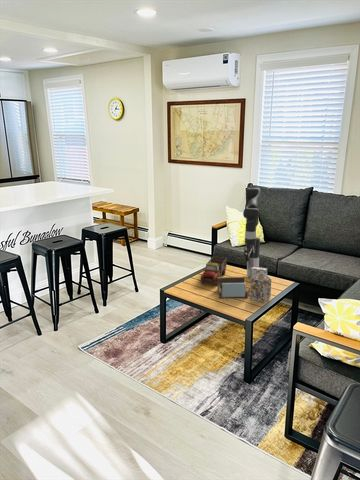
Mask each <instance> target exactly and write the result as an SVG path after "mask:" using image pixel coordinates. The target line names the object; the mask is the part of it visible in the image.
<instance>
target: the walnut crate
mask: <svg viewBox="0 0 360 480" xmlns="http://www.w3.org/2000/svg"><path fill="white" fill-rule="evenodd" d="M245 279H246V277H245V276H220V277H218V280H217V287H216V288H217V294H218V295H217V296H218V299H221V300H222V299H225V300H226V299H229V300H230V299H249V298H248V297H249V293H248V292H249V291H248V289H247V286H246V287H245V297H222V283H246V282H245Z"/></svg>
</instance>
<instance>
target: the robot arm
mask: <svg viewBox="0 0 360 480" xmlns="http://www.w3.org/2000/svg"><path fill="white" fill-rule="evenodd" d="M261 197H262V191H261V189H260V188H259V187H247V188H246V189H245V208H244V210H243V212H242V216H243V217H244V219H246V221H245V232H244V244H245V245H246V246H244V250H243V254H244V255H243V256H245V262H247V263H246V265H247V266H246V278H249V279H251V268H252V267H260V265H259V264H260V247H261V238H260V237H257V226H258V225H259V216H260V210H259V208H258V204H259V203H260V200H261Z"/></svg>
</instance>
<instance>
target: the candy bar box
mask: <svg viewBox="0 0 360 480" xmlns="http://www.w3.org/2000/svg"><path fill="white" fill-rule="evenodd" d="M258 274H264V275H266V276H268V268H265V267H260V266H259V267H252V268H251V278H250V281H251V280H252V278H253V276H255V275H258Z"/></svg>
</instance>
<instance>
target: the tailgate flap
mask: <svg viewBox="0 0 360 480" xmlns="http://www.w3.org/2000/svg"><path fill="white" fill-rule="evenodd" d="M246 284H247V283H246V282H245V283H222V297H245V287H246V288H247V286H246Z"/></svg>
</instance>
